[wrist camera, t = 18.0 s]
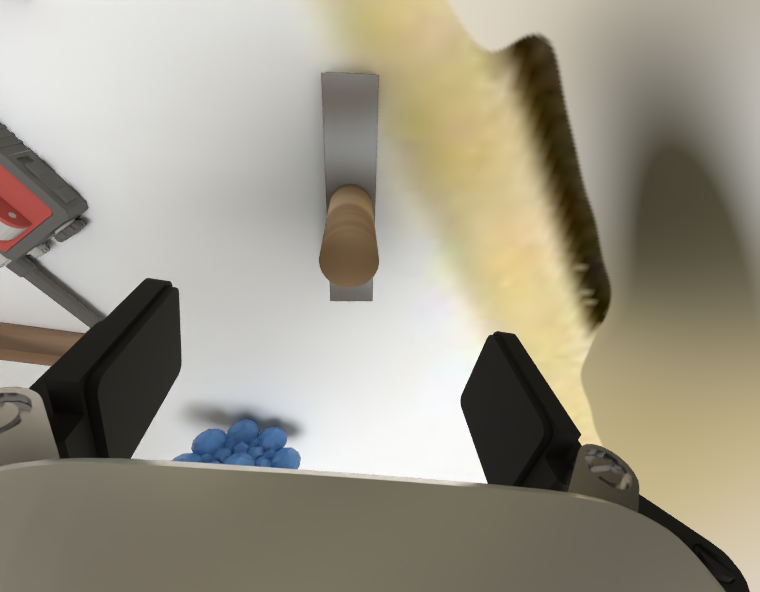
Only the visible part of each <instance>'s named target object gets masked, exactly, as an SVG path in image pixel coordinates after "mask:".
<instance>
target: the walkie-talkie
mask: <svg viewBox="0 0 760 592" xmlns="http://www.w3.org/2000/svg"><path fill="white" fill-rule="evenodd" d="M87 209H88V205H87V202H86V200H85V199H83V198H82V197H81V196H80V195H79V194H78V193H77V192H76V191H75V190H74V189H73V188H72V187H71V186H69V185H68V184H67V183H66V182H65V181H64V180H63V179H62V178H61V177H60V176H59V175H58V174H57V173H56V172H54V171H53V170H52V169H51V168H50V167H49V166H48V165H47V164H46V163H45V162H44V161H43V160H42V159H41V158H39V157H38V156H37V155H36V154H35V153H34V152H33V151H32V150H31V149H30V148H29V147H28V148H27V147H26V146H25V145H24V144H23V142H22V141H21V140H18V139H17V138H16V137H15V134H14V133H11V132H10V131H9V130H8V129H7V127H6V126H5V125H2V124H1V123H0V268H1V267H3V266H4V265H5V266H6V267H7V268H9V269H10V270H11V271H13V272H14V273H15V274H17V275H18V276H20V277H24V278H25V279H27V280H28V281H29V282H31V283H32V284H33V285H35V286H36V287H37V288H39V289H40V290H41V291H43V292H44V293H45V294H46V295H48V296H49V297H50V298H52V299H53V300H54V301H56V302H57V303H58V304H60V305H61V306H62V307H64V308H65V309H66V310H68V311H69V312H70V313H72V314H73V315H74V316H75V317H77V318H78V319H79V320H81V321H82V322H83V323H85V324H86V325H87V326H89V327H90V328H92V327H93V326H94V325H95V324H96V323H97V322H99V321H102V319H101V318H100V317H98V316H97V315H96V314H94V313H93V312H92V311H91V310H89V309H88V308H87V307H86V306H84V305H83V304H82V303H80V302H79V301H78V300H77V299H75V298H74V297H73V296H72V295H70V294H69V293H68V292H66V291H65V290H64V289H63V288H61V287H60V286H59V285H58V284H56V283H55V282H54V281H52V280H51V279H50V278H49V277H47V276H46V275H45V274H44V273H42V272H41V271H40V270H38V269H37V268H36V265H35V264H34V263H33V262H32V261H30V260H29V259H28V258H27V257H25V255H32V256H33V257H34V258H37V257H39V256H42V255H44V254H45V253H47V252H48V251H49V250H50V249H49V248H47V247H46V245H47V244H46V243H45V242H47V241H48V240H49V239H50V238H52V237H53V236H55V239H56V240H57V241H59V242H63V241H65V240H67V239H68V238H70V237H71V236H73V235H74V234H76V233H77V232H79V231H80V230H81V229H83V228H84V227H85V225H86V224H85V223H84V222H83V221H82V220H77V221H76V220H75V219H76V218H77V217H78V216H80V215H81V214H82V213H83V212H85V211H86V210H87ZM44 243H45V244H44Z"/></svg>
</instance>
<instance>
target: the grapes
mask: <svg viewBox="0 0 760 592" xmlns="http://www.w3.org/2000/svg"><path fill="white" fill-rule="evenodd" d="M259 432H260V429H259V426H258V424H257V423H256V422H254V421H252V420H241V421H239V422H237V423H235V424H234V425H233V426H232V427H231V428H230V429H229V430H228V433H227V436H226V433H225V432H223V431H222V430H220V429H208V430H206V431H204V432H202V433H201V434H199V435H198V436H197V437H196V438H195V440H194V441H193V444H192V447H191V449H192V451H193V453H189V454H182V455H180V456H178V457H176V458H174V459H173V460H171V461H180V462H198V463H213V464H227V465H242V466H257V467H271V468H286V469H298V467H299V465H300V459H301V457H300V455H299V453H298V452H297V451H296V450H295V449H293V448H283V447H284V445H285V444H286V441H287V435H286V433H285V431H284V430H282V429H281V428H279V427H269V428H267V429H265V430H263V431H262V432H261V433H260V435H259Z"/></svg>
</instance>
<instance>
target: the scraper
mask: <svg viewBox="0 0 760 592" xmlns="http://www.w3.org/2000/svg"><path fill="white" fill-rule="evenodd" d="M321 76H322V101H323V126H324V152H325V177H326V202H327V220H326V225H325V230H324V235H323V241H322V246H321V251H320V256H319V264H320V268H321V271H322V273H323V274H324V276H325V277H326V278H327V279H328V280H329V281H330V301H372V298H373V276H374V275H375V273H376V271H377V269H378V265H379V257H378V249H377V241H376V233H375V193H376V158H377V123H378V88H379V75H376V74H358V73H333V72H325V73H321Z"/></svg>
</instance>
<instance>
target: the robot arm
mask: <svg viewBox="0 0 760 592" xmlns="http://www.w3.org/2000/svg"><path fill="white" fill-rule="evenodd" d="M180 369H181V335H180V309H179V290H178V288H176V287H172V283H171V282H170V281H164V280H158V279H151V278H146V279H145V280H144V281H143V282H142V283H141V284H140V285H139V286H138V287H137V288H136V289H135V290H134V291H133V292H132V293H131V294H130V295H129V296H128V297H127V298H126V299H125V300H123V301H122V302H121V303H120V304H119V305H118V306H117V307H116V308H115V309H114V310H113V311H112V312H111V313H110V314H109V315H108V316H107V317H106V318H105V319H104V320H102V321H99V322H97V323H96V324H95V325H94V326H93V327H92V328H91V329H90V330H88V331H87V332H86V333H85V334H84V335H83V336H82V337H81V338H80V339H79V340H78V341H77V342H76V343H75V344H74V345H73V346H72V347H71V348H70V349H69V350H68V351H67V352H66V353H65V354H64V355H63V356H62V357H61V358H60V359H59V360H58V361H57V362H56V363H55V364H53V365H52V366H51V367H50V368H49V369H48V370H47V371H46V372H45V373H44V374H43V375H42V376H41V377H40V378H39V379H38V380H37V381H36V382H35V383H34V384H33V385H32V386H31V387H30V388H29V389H27V388H21V387H4V388H0V592H750V591H749V588H748V585H747V582H746V580H745V579H744V577H743V575H742V573H741V571H740V570H739V569H738V568H737V566H736V565H735V564H734V563H733V561H732V560H731V559H730V558H729V557H728V556H727V555H726V554H725V553H724V552H723V551H722V550H721V549H719V548H718V547H716V546H715V545H714V544H712V543H711V542H709V541H708V540H707V539H705V538H704V537H702V536H701V535H699V534H698V533H696V532H694V531H693V530H692V529H690V528H689V527H687V526H686V525H684V524H683V523H681V522H680V521H678V520H677V519H675V518H674V517H672V516H671V515H669V514H668V513H666V512H665V511H663V510H662V509H661V508H659V507H658V506H656V505H655V504H653V503H652V502H650V501H648V500H647V499H646V498H644V497H643V496H641V495H640V494H639V483H638V479H637V477H636V475H635V474H634V472H633V471H632V469H631V468H630V467H629V465H628V464H627V463H626V462H624V461H623V460H622V459H621V458H620V457H619V456H617V455H616V454H614V453H613V452H612V451H610V450H608V449H606V448H604V447H601V446H598V445H594V444H586V445H583V446H581V444H580V442H579V441H578V439H579V437H580V436H581V433H580V432H579V430H578V429H577V427H576V426H575V424H574V423H573V421H572V420H571V418H570V417H569V415H568V414H567V412H566V411H565V409H564V408H563V406H562V405H561V403H560V402H559V400H558V399H557V397H556V395H555V394H554V392H553V391H552V389H551V388H550V386H549V385H548V383H547V382H546V380H545V379H544V377H543V376H542V374H541V373H540V371H539V370H538V368H537V367H536V365H535V364H534V362H533V361H532V359H531V357H530V356H529V354H528V353H527V351H526V350H525V348H524V347H523V345H522V344H521V342H520V341H519V339H518V338H517V336H516V335H515V334H512V333H505V332H499V331H497V332H495V333H494V334H493V335H489V336H488V338H487V340H486V342H485V344H484V346H483V349H482V351H481V353H480V355H479V357H478V360H477V362H476V364H475V366H474V369H473V371H472V373H471V375H470V378H469V380H468V382H467V384H466V386H465V389H464V391H463V393H462V396H461V408H462V410H463V413H464V416H465V419H466V422H467V425H468V428H469V431H470V433H471V436H472V439H473V442H474V445H475V448H476V451H477V454H478V457H479V459H480V462H481V465H482V468H483V471H484V474H485V477H486V480H487V482H488V484H483V483H471V482H458V481H446V480H433V479H421V478H408V477H395V476H381V475H368V474H355V473H341V472H327V471H314V470H300V469H286V468H271V467H257V466H242V465H227V464H213V463H198V462H180V461H162V460H143V459H131V457H132V455H133V453H134V452H135V450H136V448H137V446H138V445H139V443H140V441H141V439H142V438H143V436H144V434H145V432H146V431H147V429H148V427H149V425H150V424H151V422H152V420H153V418H154V417H155V415H156V413H157V411H158V410H159V408H160V406H161V404H162V403H163V401H164V399H165V397H166V396H167V394H168V392H169V390H170V389H171V387H172V385H173V383H174V382H175V380H176V378H177V376H178V374H179V372H180Z"/></svg>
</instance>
